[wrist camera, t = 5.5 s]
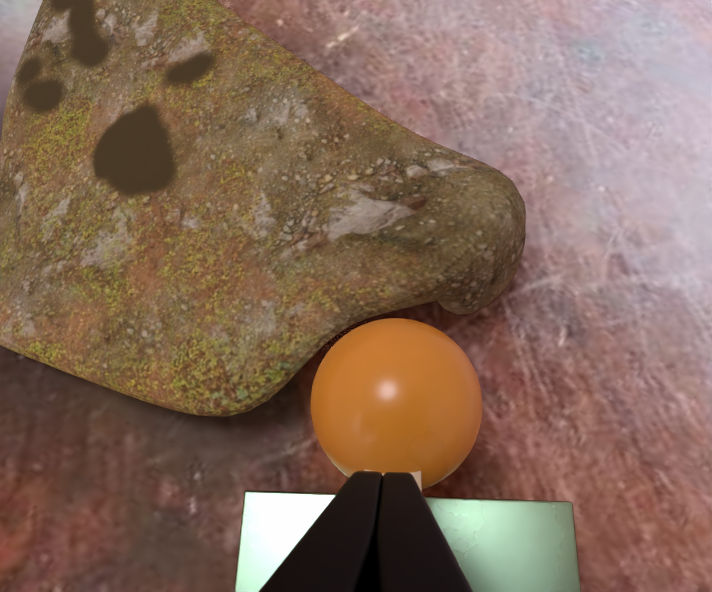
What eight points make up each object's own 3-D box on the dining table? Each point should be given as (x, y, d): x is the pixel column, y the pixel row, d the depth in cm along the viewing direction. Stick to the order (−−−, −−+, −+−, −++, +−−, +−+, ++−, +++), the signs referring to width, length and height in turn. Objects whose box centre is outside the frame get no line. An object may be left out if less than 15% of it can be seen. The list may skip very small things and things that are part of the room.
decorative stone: (549, 262, 18) (549, 182, 14) (213, 605, 18) (103, 636, 13) (168, -19, 30) (101, -113, 25) (-45, 187, 29) (-152, 128, 25)
